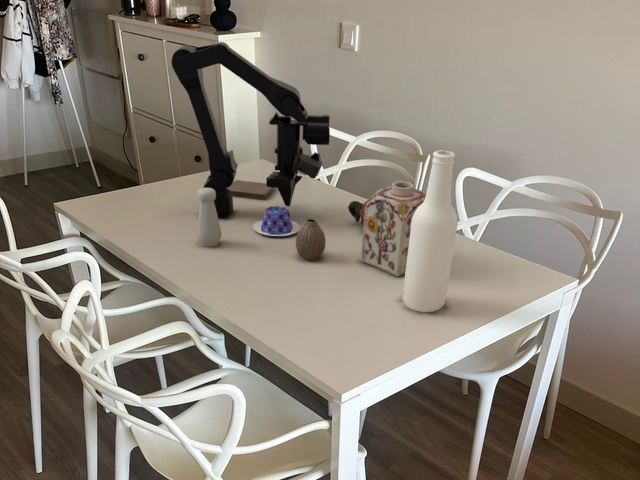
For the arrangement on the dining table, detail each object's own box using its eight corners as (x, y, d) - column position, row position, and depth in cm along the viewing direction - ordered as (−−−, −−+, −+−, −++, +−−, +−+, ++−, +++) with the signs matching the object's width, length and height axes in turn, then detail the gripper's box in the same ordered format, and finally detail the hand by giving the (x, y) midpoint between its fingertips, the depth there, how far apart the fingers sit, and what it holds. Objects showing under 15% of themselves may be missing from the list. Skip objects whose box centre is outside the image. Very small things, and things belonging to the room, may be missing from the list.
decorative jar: (392, 249, 161) (400, 173, 150) (429, 264, 154) (441, 185, 143) (358, 261, 154) (364, 183, 143) (396, 278, 147) (406, 196, 137)
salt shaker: (224, 240, 162) (221, 186, 154) (219, 249, 157) (216, 193, 149) (201, 238, 162) (196, 184, 154) (195, 247, 157) (190, 192, 150)
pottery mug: (392, 224, 176) (399, 202, 168) (380, 250, 172) (386, 229, 164) (351, 206, 176) (356, 184, 169) (337, 232, 173) (342, 210, 165)
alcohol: (415, 316, 133) (436, 161, 115) (394, 297, 139) (411, 148, 121) (452, 309, 136) (478, 157, 118) (430, 291, 142) (451, 145, 124)
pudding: (282, 242, 162) (282, 221, 158) (243, 231, 167) (242, 210, 163) (309, 228, 170) (309, 208, 167) (271, 218, 175) (271, 198, 172)
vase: (314, 265, 151) (315, 228, 146) (289, 258, 154) (290, 221, 149) (330, 255, 156) (332, 219, 151) (305, 249, 159) (306, 212, 154)
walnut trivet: (224, 195, 188) (224, 189, 188) (236, 184, 196) (236, 179, 195) (264, 200, 186) (264, 194, 185) (274, 189, 194) (274, 184, 193)
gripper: (310, 156, 157) (308, 221, 166) (328, 137, 171) (325, 198, 181) (265, 151, 158) (266, 216, 168) (286, 133, 173) (286, 193, 182)
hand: (287, 205), depth 175 cm, fingers closed
